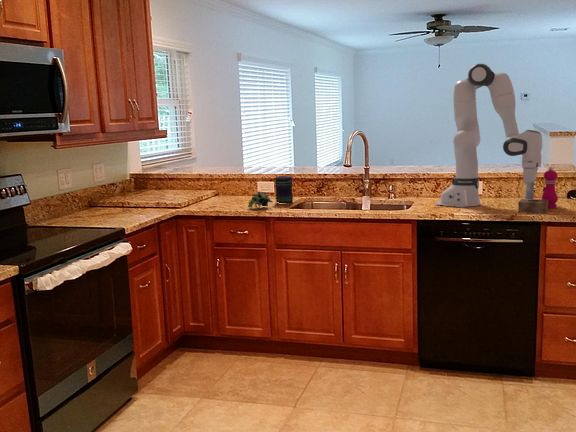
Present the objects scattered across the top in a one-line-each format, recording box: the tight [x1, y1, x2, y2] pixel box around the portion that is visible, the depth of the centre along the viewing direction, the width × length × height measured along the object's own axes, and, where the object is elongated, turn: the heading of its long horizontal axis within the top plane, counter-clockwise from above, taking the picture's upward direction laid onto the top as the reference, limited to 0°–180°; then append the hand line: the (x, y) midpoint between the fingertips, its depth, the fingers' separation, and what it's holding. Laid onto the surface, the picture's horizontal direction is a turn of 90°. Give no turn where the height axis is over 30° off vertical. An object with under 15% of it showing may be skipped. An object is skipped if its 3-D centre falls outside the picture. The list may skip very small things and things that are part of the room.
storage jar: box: [274, 175, 294, 204], centre depth 343 cm, size 10×10×15 cm
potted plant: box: [247, 191, 273, 209], centre depth 328 cm, size 11×11×12 cm
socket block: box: [517, 198, 549, 214], centre depth 287 cm, size 12×10×5 cm
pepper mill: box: [541, 166, 559, 210], centre depth 293 cm, size 7×7×20 cm
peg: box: [524, 181, 535, 199], centre depth 301 cm, size 4×4×10 cm
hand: (529, 190), depth 301 cm, fingers closed on peg, 4 cm apart
